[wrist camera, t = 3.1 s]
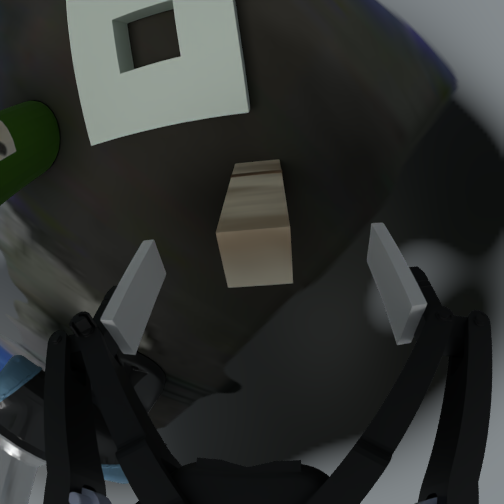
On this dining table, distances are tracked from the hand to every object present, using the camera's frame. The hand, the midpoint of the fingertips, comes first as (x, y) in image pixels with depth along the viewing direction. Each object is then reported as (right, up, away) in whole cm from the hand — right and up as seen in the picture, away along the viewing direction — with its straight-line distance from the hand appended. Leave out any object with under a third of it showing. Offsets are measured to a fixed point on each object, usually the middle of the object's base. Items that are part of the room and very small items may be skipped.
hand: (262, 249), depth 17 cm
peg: (0, +6, +9) cm, 11 cm away
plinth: (-9, +18, +1) cm, 20 cm away
